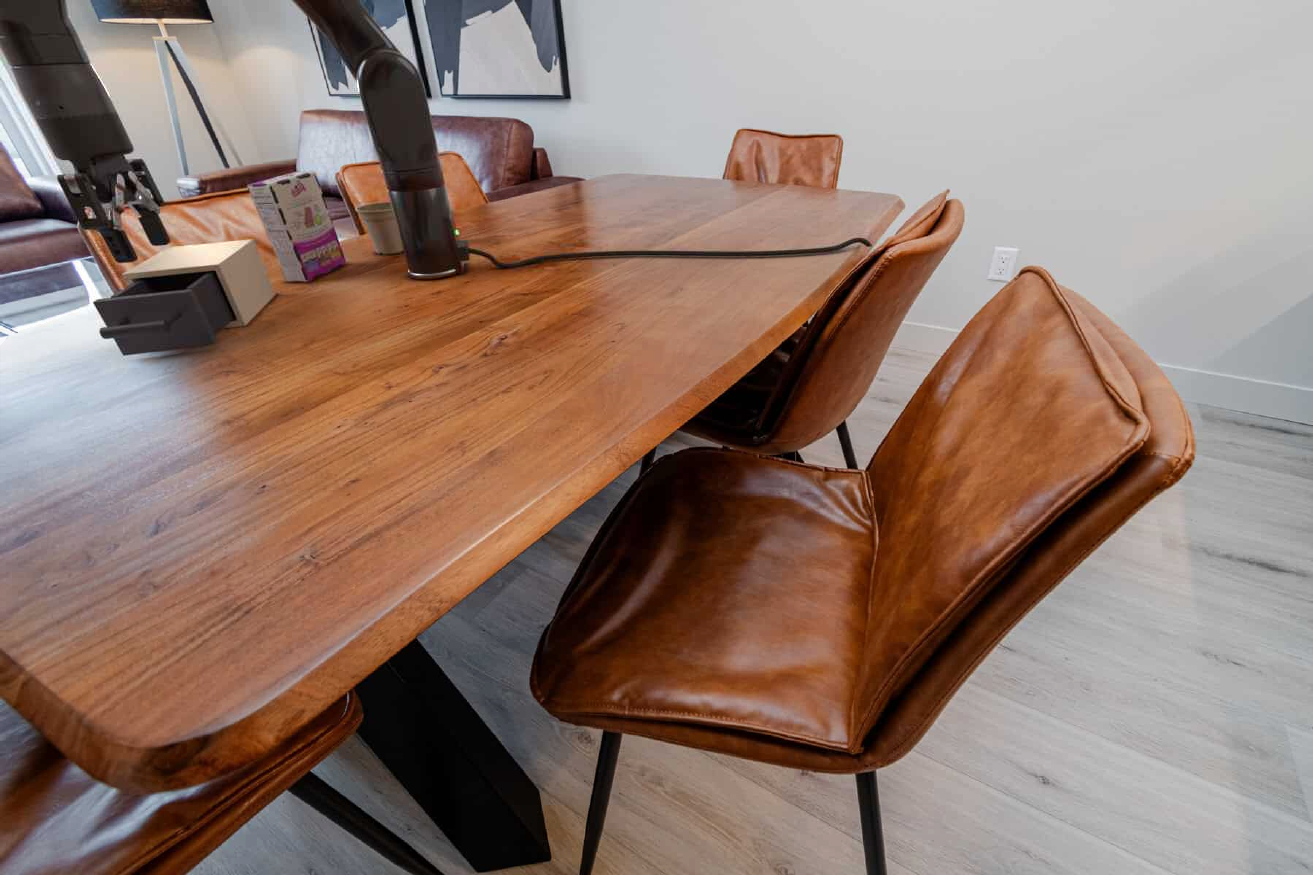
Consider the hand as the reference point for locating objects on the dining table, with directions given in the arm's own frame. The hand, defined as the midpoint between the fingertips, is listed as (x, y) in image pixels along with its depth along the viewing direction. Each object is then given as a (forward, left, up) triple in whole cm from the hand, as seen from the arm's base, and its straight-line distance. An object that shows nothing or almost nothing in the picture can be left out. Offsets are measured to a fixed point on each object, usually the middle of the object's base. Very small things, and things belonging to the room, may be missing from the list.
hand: (145, 253), depth 78 cm
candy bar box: (-10, -29, -12) cm, 33 cm away
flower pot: (-22, -40, -12) cm, 47 cm away
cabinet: (0, -11, -12) cm, 16 cm away
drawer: (0, +2, -11) cm, 11 cm away
